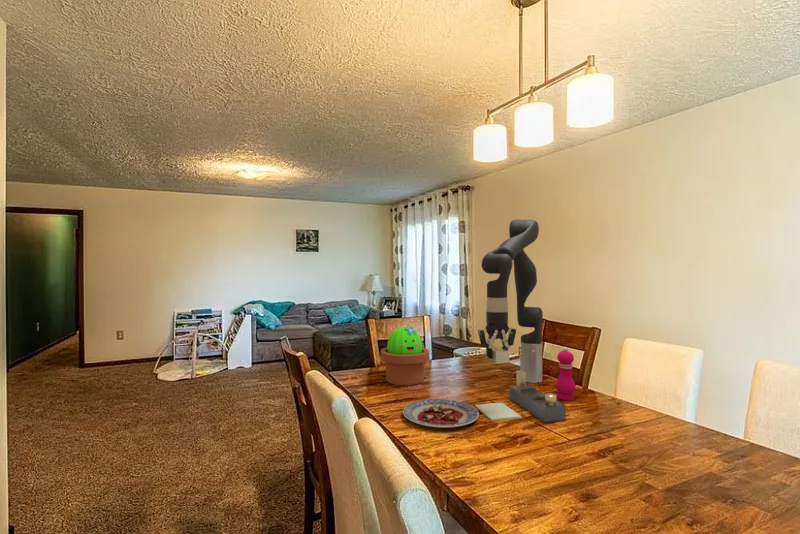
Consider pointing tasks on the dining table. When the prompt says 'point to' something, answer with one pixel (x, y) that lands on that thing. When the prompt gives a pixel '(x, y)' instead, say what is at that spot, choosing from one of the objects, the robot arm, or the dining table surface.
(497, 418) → the rubber mat
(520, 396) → the hand plane
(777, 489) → the dining table surface
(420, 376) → the potted cactus
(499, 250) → the robot arm
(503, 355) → the white rectangular block
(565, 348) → the pepper mill
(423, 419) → the ceramic plate
